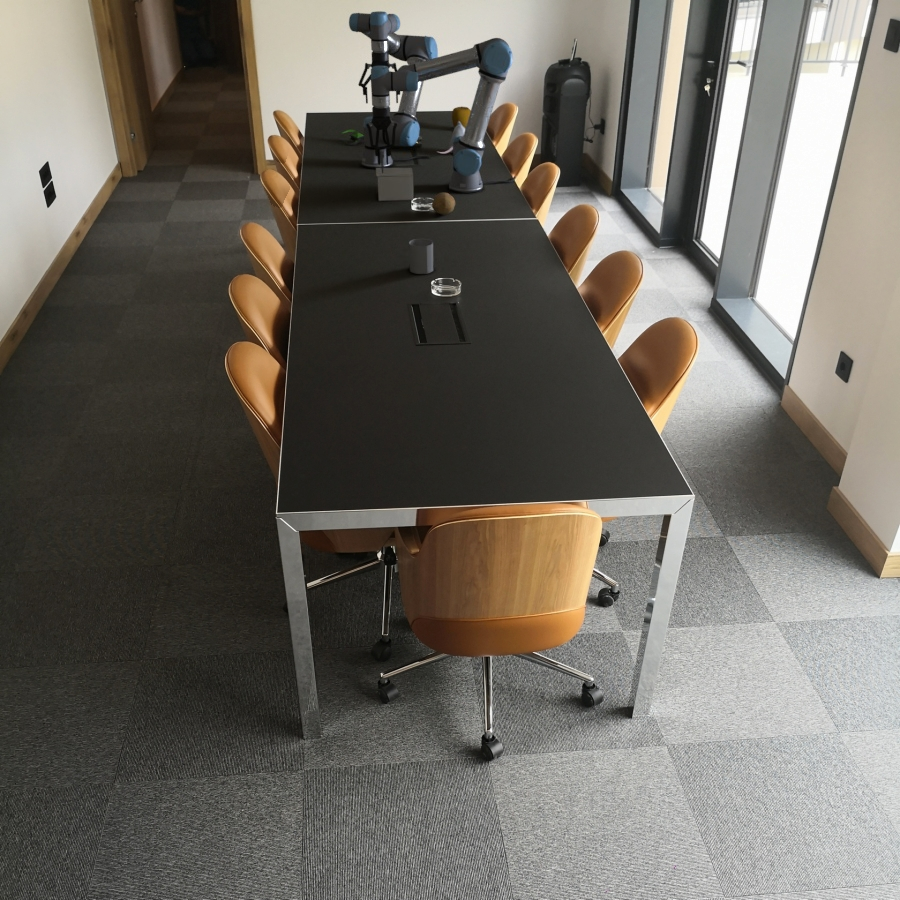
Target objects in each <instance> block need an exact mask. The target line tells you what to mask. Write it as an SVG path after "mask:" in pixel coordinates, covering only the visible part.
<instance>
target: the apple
mask: <svg viewBox="0 0 900 900" xmlns="http://www.w3.org/2000/svg"><path fill="white" fill-rule="evenodd" d="M470 112H471V108H469V107H467V106H462V105H461V106H457V107H454V108H452V111H451V121H452V125H453V129H455V127H456V126H457V124H458V121H459V122H460V123H461V124H462V126H463V127H466V126H467V122H468V119H469V115H470Z"/></svg>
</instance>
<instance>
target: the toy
mask: <svg viewBox="0 0 900 900" xmlns="http://www.w3.org/2000/svg"><path fill="white" fill-rule="evenodd" d="M465 129H466V127H463V126H462V124H461V123H460V122H459V121H458V124H457V126H456V127H455V128H453V132H452V133H451V137H450V138H451V139H450V140H449V145H448V146H449V149H447V150H445V151H437V153H439V154H444V155H445V154H448V153H450V154H453V139H454V137H456V136H463V135H464V133H465Z"/></svg>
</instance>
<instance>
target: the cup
mask: <svg viewBox="0 0 900 900" xmlns="http://www.w3.org/2000/svg"><path fill="white" fill-rule="evenodd" d="M408 253H409V272H411V273H412V274H416V275H426V274H430V273H432V272H434V241H433V240H431V239H428V238H422V237H421V238H420V237H419V238H414V239H411V240H410V241H409V242H408Z"/></svg>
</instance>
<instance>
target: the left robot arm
mask: <svg viewBox="0 0 900 900" xmlns="http://www.w3.org/2000/svg"><path fill="white" fill-rule="evenodd" d="M348 26H349V29H350V31H351V32H354V33H361V34H363V36H366V37H367V38H368V39H370V47H371V49H370V50H371V63H368V62H365V63H364V69H363V71H362V74H361V76H360V79H359V81H358V84H357V85H358V86H359V87H361V88H362V96H365V104H369V103H368V102H369V100H368V99H369V98H368V86H367V85H368V84H369V83H370V82H371V73H370V74H369V75H368V77H367V78H366V80H365V77H366V75H367V72H368V70H369V69H371V68H372V67H374V66H387V67H388V68H389V69H390V68H391V69H393V72H397V71H398V68H397V63H396V62H393V63H390V56H391V57H392V58H395V59H396V60H399V61H402V62H406V64H407V65H411V64H415V63H419V62H422V61H426V60H430V59H433V58H437V57H439V55H438V54H439V52H438V51H439V50H438V44H437V41H436V39H435V38H434V37H433V36H428V35H411V34H398V33H396V32H398V30H399V29H400V28H401V20H400V18H399V16H398V15H397V14H395V13H387V12H386V11H381V10H379V11H378V10H377V11H371V12H370V13H363V12H353V13H351V14H350V16H349V19H348ZM364 80H365V81H364ZM363 82H364V83H363ZM424 82H425V81H422V82H418V90H417V91H411V92H409V91H402V93H401V91H395V101H396V102H395V103H396V104H399V106H398V109H397V111H396V112H394V114H393V117H392V118H391V119H392V121H394V122H397V127H396V130H395V146H399V147H413V146H414V145H415V144H416V143H417V141H418V139H419V136H420V129H421V128H420V127H421V126H420V123H419V122H418V119H417V111H418V107H419V102H420V99H421V95H422V91H423V86H424ZM400 95H401V97H400V102H399V96H400ZM372 118H373V116H372V115H370V116H366V117H365V118H364V119H363V134H364V141H363V142H364V151H363V155H362V159H361V166H362V167H363V168H366V169H371V170H376V168H381V158H380V165H378V156H375V148H373V147H371V145H370V138H369V131H368V128H367V126H366V123H367V122H368V123H369V122H370V121H372ZM387 129H388V135H389V141H390V144H392V130H393V127H392V124H390V125H389V127H388V128H387ZM371 130H372V137H373V144H375V141H376V130H377V129H376V127H375V126H374V125H373V124H372V127H371ZM386 147H387V141H386V136H385V130H379V140H378V148H380V150H383V151H384V158H383V168H392V166H394V162H396V161H397V162H398V161H402V162H403V161H404V162H405V161H411V160H414V159H429V158H430V156H429V155H415V156H410V157H407V158H392V154H391V155H390V156H388V164H386Z"/></svg>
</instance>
